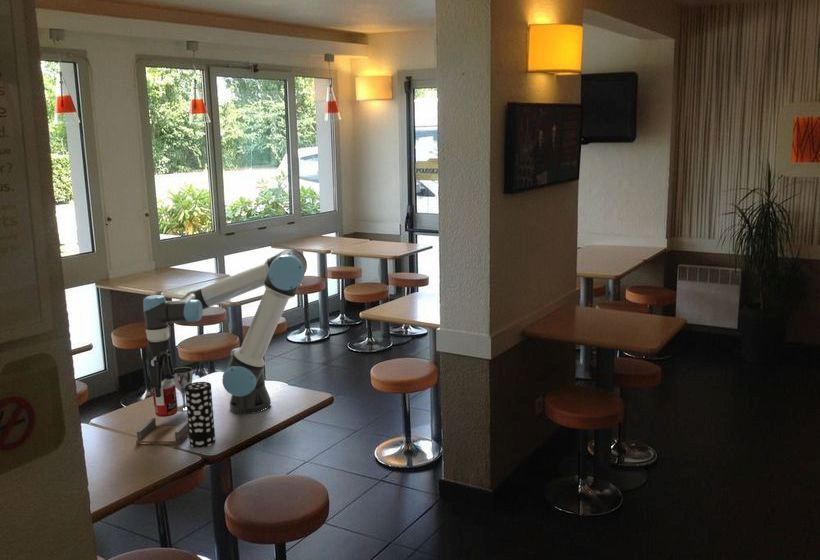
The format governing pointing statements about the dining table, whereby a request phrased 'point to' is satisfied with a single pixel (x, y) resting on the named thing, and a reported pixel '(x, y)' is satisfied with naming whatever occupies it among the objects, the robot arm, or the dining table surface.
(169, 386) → the canned food
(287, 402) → the dining table surface
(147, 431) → the holder
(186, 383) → the wine glass
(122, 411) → the dining table surface
